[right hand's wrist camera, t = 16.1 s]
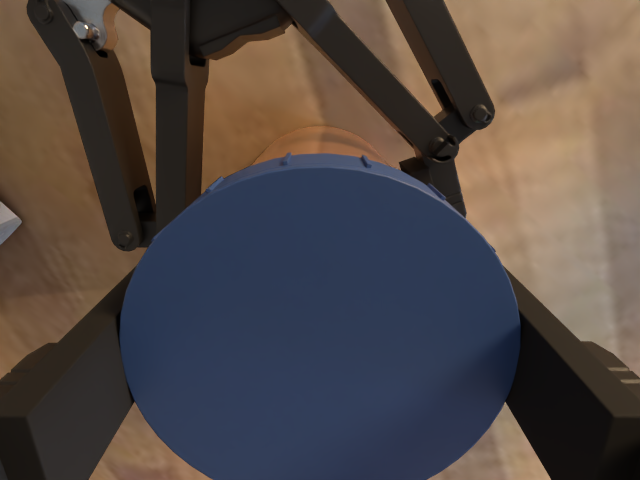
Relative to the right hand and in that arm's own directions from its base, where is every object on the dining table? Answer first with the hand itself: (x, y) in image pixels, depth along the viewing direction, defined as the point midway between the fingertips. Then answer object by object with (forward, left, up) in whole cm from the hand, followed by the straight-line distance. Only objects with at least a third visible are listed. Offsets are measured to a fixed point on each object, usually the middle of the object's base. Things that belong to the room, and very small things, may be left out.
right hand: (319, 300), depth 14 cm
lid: (0, 0, +3) cm, 3 cm away
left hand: (-1, +4, -6) cm, 7 cm away
